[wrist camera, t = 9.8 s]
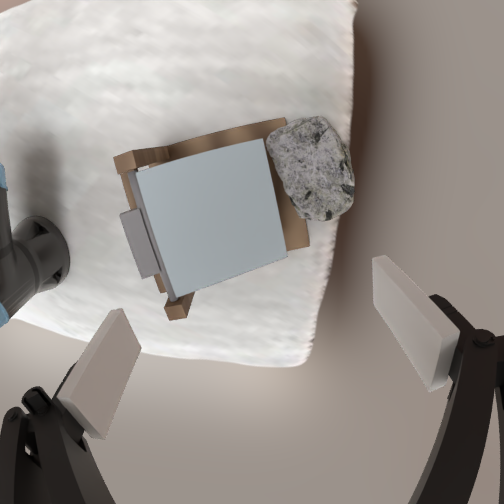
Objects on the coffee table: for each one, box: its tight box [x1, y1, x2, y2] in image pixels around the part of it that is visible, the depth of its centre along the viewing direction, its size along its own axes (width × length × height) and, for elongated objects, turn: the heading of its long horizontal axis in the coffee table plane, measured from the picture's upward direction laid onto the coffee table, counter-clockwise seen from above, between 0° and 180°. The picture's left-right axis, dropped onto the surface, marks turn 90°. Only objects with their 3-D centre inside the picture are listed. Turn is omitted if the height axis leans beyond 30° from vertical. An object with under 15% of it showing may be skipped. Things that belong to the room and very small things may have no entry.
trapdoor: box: [120, 138, 288, 302], centre depth 35 cm, size 19×17×2 cm
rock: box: [266, 116, 355, 221], centre depth 41 cm, size 15×10×7 cm
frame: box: [113, 118, 310, 321], centre depth 39 cm, size 22×21×15 cm
